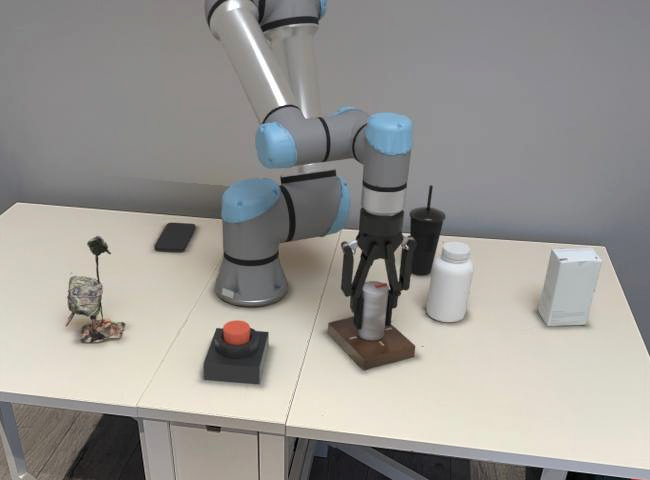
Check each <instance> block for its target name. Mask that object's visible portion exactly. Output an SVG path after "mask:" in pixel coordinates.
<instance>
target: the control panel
mask: <svg viewBox="0 0 650 480" xmlns="http://www.w3.org/2000/svg"><path fill="white" fill-rule="evenodd" d="M353 318H354V316H350V317H347V318H342V319H338V320H334V321H330V322H327V335H328V336H330V338H331V339H332V340H333V341H334V342H335V343H336V344H337V345H338V346H339V347H340V348H341V349H342V350H343V351H344V352H345V353H346V354H347V355H348V356H349V358H351V359H352V360H353V361H354V363H355V364H356V365H357V366H358V367H359V368H360V369H361V370H362V371H366V370H370V369H374V368H378V367H382V366H386V365H390V364H393V363H396V362H401V361H404V360H408V359H411V358H414V357H415V354H416V345H415V344H414V343H413V342H412V341H411V340H410V339H409V338H407V336H405V335H404V334H403V333H402V332H401V331H400V330H398V329H397V328H396V327H395V325H393V324H392V323H391V326H386V325H385V331H384V336H383V338H381V339H379V340H375V341H370V340H365V339H363V338H361V337H360V336H359V335H358V330H357V328H356V326H355V325H354V323H353Z"/></svg>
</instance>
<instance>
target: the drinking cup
mask: <svg viewBox="0 0 650 480" xmlns="http://www.w3.org/2000/svg"><path fill="white" fill-rule="evenodd" d="M433 188H434V186H433V185H429V187H428V195H427V202H426V203H427V204H426V206H420V207H415V208H413V209H411V210H410V211H409V218H410V221H409V222H410V226H409V236H412V237H413V238H414V240H415V241H416V242H417V246H416V248H415V250H414V252H413V258H412V268H411V274H413V275H415V276H421V277H424V276H428V275H430V274H432V267H433V262H434V260H435V257H436V252H437V249H438V245H439V241H440V236H441V233H442V229H443V224H444V221H445V220H446V214H445V212H443V211H442V210H440V209H438V208H435V207H432V206H431V205H432V196H433Z"/></svg>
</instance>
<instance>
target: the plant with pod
mask: <svg viewBox="0 0 650 480" xmlns="http://www.w3.org/2000/svg"><path fill="white" fill-rule="evenodd" d="M86 245H87V247H88V248H89V250H90V252H91V254H92V255H94V256H95V258H94V259H95V260H94V261H95V267H96V268H95V269H96V270H95V272H96V278H93V277H90V276H83V275H73V276H70V278H69V281H68V289H67V294H68V295H67V296H66V297H67V298H66V299H67V308H68V311H69V312H71V313H70V315H69V317H68V318H67V321H66V322H65V324H64V327H68V326H69V324H70V323H71V321H72V319H74V316H75V315H78V316H85V317H88V318H89V319H90V321H91V323H86V324H84V325H82V327H81V331H80V332H81V333H80V339H79V341H80V342H82V343H99V342H102V341H104V340H105V339H107V340H110V339H111V338H112V339H114V338H115V339H121V337H123V334H124V333H123V332H124V331H125V326H126V323H125V322H124V321H121V322H120V321H119V322H114V321H112V320H111V318H104V315H103V305H102V298H103V297H102V295H103V294H104V293H103V292H104V290H103V287H104V286H103V283H102V282H101V281H100V274H99V273H100V272H99V256H100V255H101V254H104V253H107V254H108V255H112V252H110V250H109V245H108V244H107V242H106V241H105V239H104V238H103V237H102V236H101V235H96V236H94V237H92V238H90V239H89V240H88V241H87V244H86ZM69 274H70V275H72V274H73V272H70V273H69ZM99 314H100V315H101V319H98V315H99Z"/></svg>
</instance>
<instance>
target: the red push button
mask: <svg viewBox="0 0 650 480" xmlns="http://www.w3.org/2000/svg"><path fill="white" fill-rule="evenodd" d="M222 328H223V336H224V341H225V342H227V343H229V344H235V345H239V344H244V343H247V342H248V341H249V340H250V328H251V326H250V324H249V323H248V322H247V321H245V320H239V319H237V320H230V321H228V322H226V323H224V324H223V327H222Z"/></svg>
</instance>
